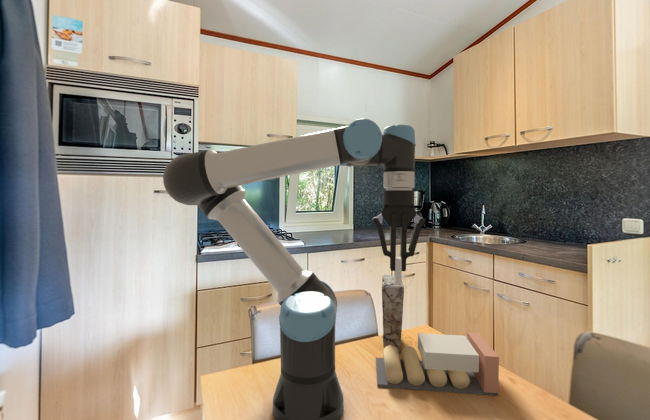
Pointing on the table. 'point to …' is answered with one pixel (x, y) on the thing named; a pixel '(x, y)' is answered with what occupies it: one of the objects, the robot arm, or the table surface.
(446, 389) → the roller bed
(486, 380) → the stop block
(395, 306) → the stone block
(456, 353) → the slab
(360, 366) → the table surface
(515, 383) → the table surface
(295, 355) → the robot arm
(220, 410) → the table surface
